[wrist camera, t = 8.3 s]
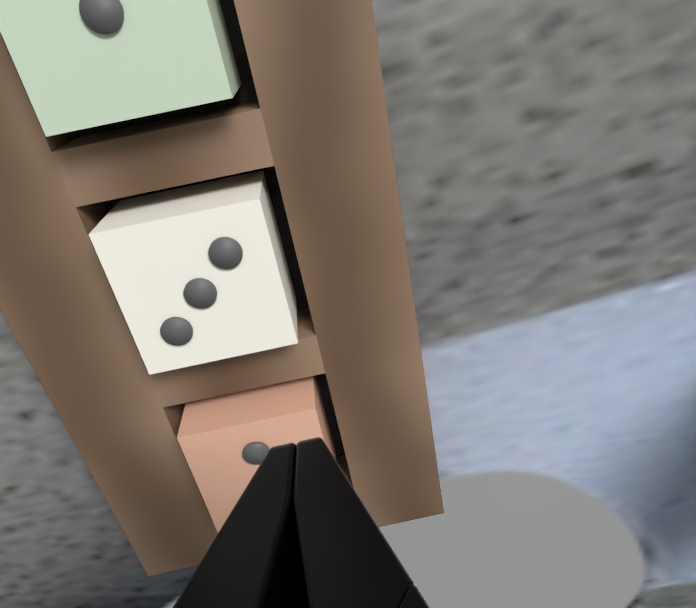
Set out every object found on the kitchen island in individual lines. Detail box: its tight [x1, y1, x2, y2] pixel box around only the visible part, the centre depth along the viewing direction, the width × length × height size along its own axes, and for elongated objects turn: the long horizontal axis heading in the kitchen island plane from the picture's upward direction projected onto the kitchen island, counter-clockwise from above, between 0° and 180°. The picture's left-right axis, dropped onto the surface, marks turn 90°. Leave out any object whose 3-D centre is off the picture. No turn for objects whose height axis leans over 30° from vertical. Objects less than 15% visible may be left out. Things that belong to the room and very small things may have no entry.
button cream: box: [89, 171, 298, 375], centre depth 17 cm, size 4×4×3 cm
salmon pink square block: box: [177, 375, 336, 533], centre depth 20 cm, size 4×4×3 cm
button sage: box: [0, 0, 241, 137], centre depth 13 cm, size 4×4×3 cm
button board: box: [0, 0, 444, 576], centre depth 17 cm, size 12×24×2 cm, turn 10°
